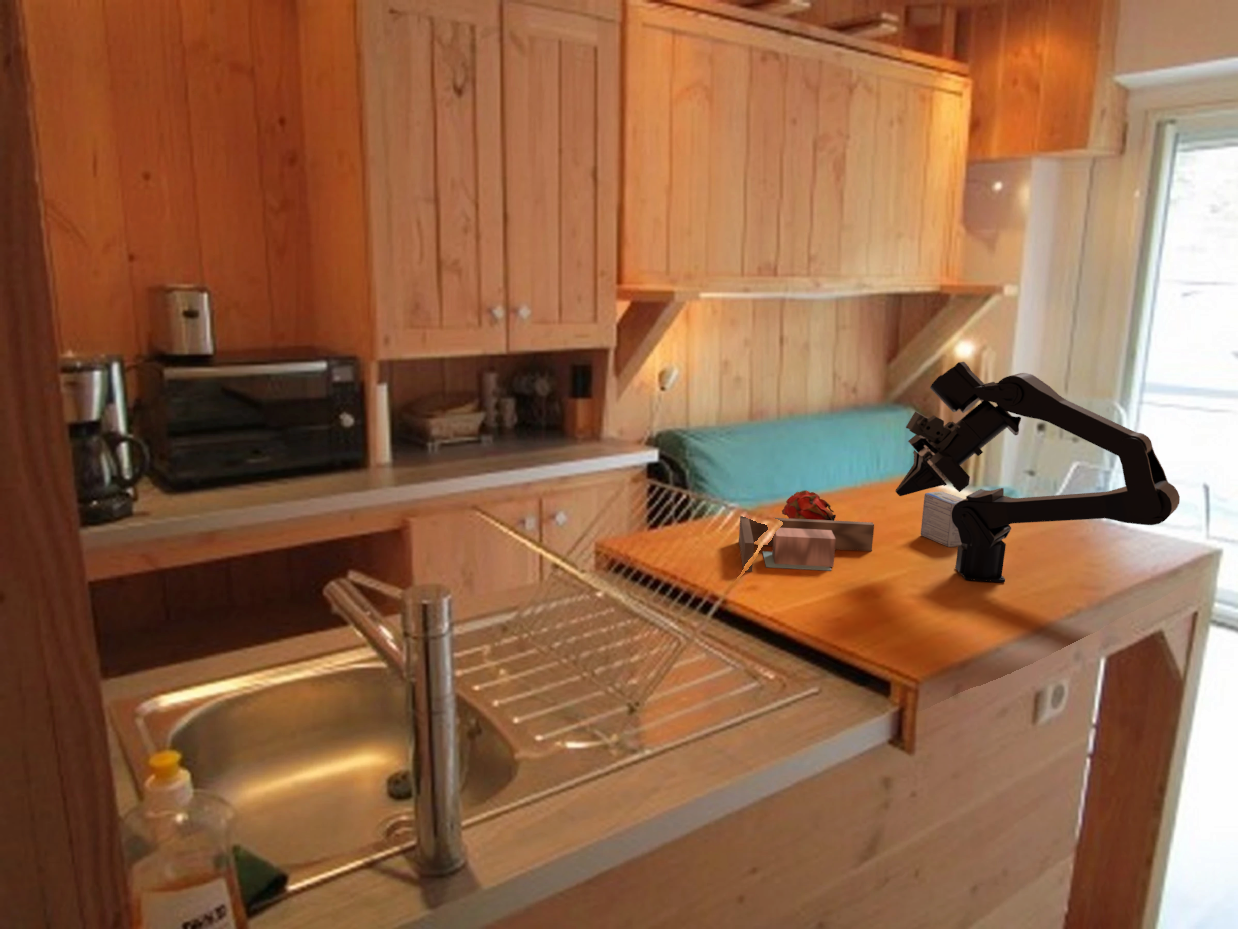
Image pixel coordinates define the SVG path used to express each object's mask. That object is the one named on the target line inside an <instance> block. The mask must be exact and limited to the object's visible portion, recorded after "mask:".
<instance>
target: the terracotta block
mask: <svg viewBox="0 0 1238 929" xmlns="http://www.w3.org/2000/svg"><path fill="white" fill-rule="evenodd" d="M835 543H836V538H835V536H834V534H833V532H832V530H817V529H797V528H779V529H778V530H777V531H776V532H775V534H774V536H773V546H772V551H771V552H772V556H773V559H774V563H775V564H790V565H809V566H828V567H830V568H831V567H832V568H833V567H834V566H835V565H834V564H835V553H836V549H835Z"/></svg>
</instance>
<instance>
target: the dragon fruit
mask: <svg viewBox="0 0 1238 929" xmlns="http://www.w3.org/2000/svg"><path fill="white" fill-rule="evenodd" d="M820 497H821V496H820V495H819V494H817V493H816V492H814V491H812V492H810V491H809V490H806V489H804V490H801V491H797V492H795V493H794V494H793V495H791V496H790V497H788V499H787V500H786V501H785V502H786V504H785V505H784V507H783V509H782V510H781V512H782V513H781V514H782V515H785V516H787V518H790V519H811V520H832V521H836V518H837V517H836V516H837V515H836V514H833V513H835V511H834V510H833V509H831V505H830V503H828V502H827V501H826V500H825V499H823V498H820Z"/></svg>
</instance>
